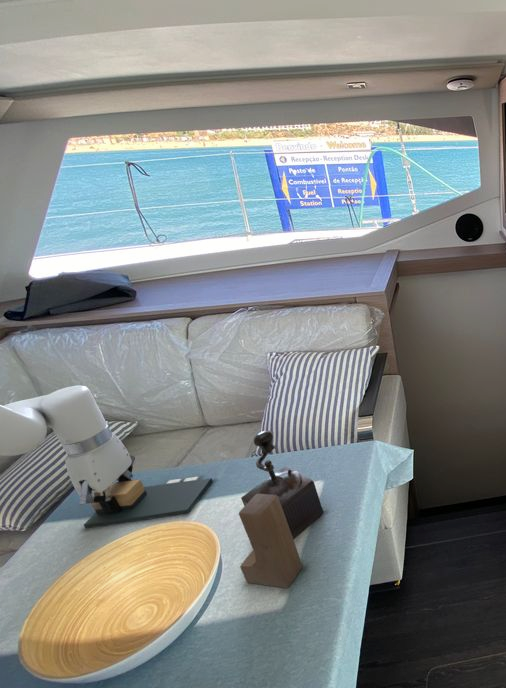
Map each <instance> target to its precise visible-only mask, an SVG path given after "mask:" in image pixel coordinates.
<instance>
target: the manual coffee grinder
mask: <svg viewBox="0 0 506 688" xmlns="http://www.w3.org/2000/svg"><path fill="white" fill-rule="evenodd" d="M273 439H274V434H273V432H272V431H271V430H263V431H260V432H259V433H257V434H256V435H255V436H254V438H253V444H254V445H255V446H256V447H259V448H260V449H261V452H260V453H261V454H262V455H260V457H259V458H258V459H257V460H256V463H255V465H256V468H257V469H259V470H261V471H264V472H268V474H269V477H267V478H266V479H265V480H263V481H262V482H260V483H258V485H256V486H255V487H253V488H252V489H250V490H249V491H248V492H247V493H245V494H244V495H242V496H241V498H240V499H241V502H242V504H243V507H244V506H245V505H246V504H247V503H248V502H249V501H250V500H251V499H252V498H253V497H254V496H255V495H256V494H269V495H277V496H278V498H279V501H280V503H281V506H282V509H283V512H284V515H285V517H286V520H287V523H288V526H289V529H290V532H291V534H292V537H293V540H294V539H296V538H297V537H298V536H299V535H301V534H302V533H303V532H304V531H305V530H306V529H307V528H310V526H311V525H313V523H315V522H316V521H317V520H318V519H320V517H322V515H323V514H324V512H325V510H324V509H323V507H322V503H321V501H320V497H319V494H318V490H317V487H316V485H315V482H314V480H313V479H311V478H310V477H308V476H306V475H304V474H302V473H301V472H299V471H297V470H295V469H293V468H291V467H290V466H287V465H285V466H284V467H282V468H281V469H279V470H278V471H276V472H275V471H274V469H275V466H274V465H273V464H272V461H271V460H269V459H267V460H265V459H266V457H267V456H268V455H269V454H271V453H272V452H273V450H275V449H276V445H275V444H273ZM264 460H265V461H264ZM263 461H264V464H263Z"/></svg>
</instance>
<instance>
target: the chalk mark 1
mask: <svg viewBox="0 0 506 688" xmlns="http://www.w3.org/2000/svg"><path fill="white" fill-rule="evenodd" d="M178 482H183V479H182V478H176V479H169V480H168V481H166V482H165V484H171V483H178Z"/></svg>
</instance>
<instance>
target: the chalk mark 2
mask: <svg viewBox="0 0 506 688" xmlns="http://www.w3.org/2000/svg"><path fill="white" fill-rule="evenodd" d="M193 480H200V477H199V476H193V477H186V478H184V480H182V482H186V481H193Z"/></svg>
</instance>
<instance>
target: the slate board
mask: <svg viewBox="0 0 506 688" xmlns="http://www.w3.org/2000/svg"><path fill="white" fill-rule="evenodd" d="M213 481H214V480H213V478H212V477H208V478H202V479H200V478H199V479H198V480H193V481H186V482H183V481H181V482H178V483H171V484H166V483H164V484H158V485H150V486H144V488H145V490H146V492H147V495H146V496H145V497H144V498H143V499H142V500H141V501H140V502H139V503H138V504H137V505H136V507H135V508H134V509H127V510H121V511H120V512H117V513H110V514H105V513H98V514H97V513H96V512H95V513H94V514H93V515H91V517H90V518H89V519H87V521H86V522H85V523H83V527H84V528H85V529H88V528H92V527H93V528H95V527H101V526H107V525H108V526H109V525H115V524H121V523H122V524H123V523H128V522H136V521H142V520H143V521H144V520H150V519H157V518H164V517H171V516H178V515H185V514H189V513H190V511H191V510H192V509H193V508H194V506H195V505H196V504H197V503H198V501H199V500H200V498H201V497H202V496H203V494H204V493H205V492H206V491H207V490H208V488H209V487H210V485H211V484H212V483H213Z"/></svg>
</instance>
